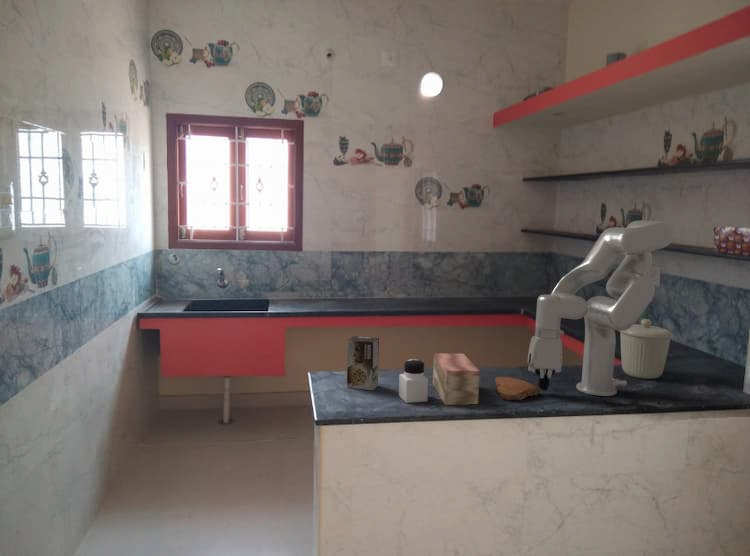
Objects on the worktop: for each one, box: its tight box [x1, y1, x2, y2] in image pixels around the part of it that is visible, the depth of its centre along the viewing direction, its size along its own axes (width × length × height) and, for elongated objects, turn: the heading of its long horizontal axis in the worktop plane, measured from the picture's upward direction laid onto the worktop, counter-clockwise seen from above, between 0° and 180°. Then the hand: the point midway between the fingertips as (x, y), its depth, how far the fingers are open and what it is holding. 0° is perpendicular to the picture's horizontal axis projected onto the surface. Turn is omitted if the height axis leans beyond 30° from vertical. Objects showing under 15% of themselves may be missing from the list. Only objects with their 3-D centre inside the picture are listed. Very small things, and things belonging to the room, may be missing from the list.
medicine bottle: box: [398, 358, 430, 404], centre depth 176 cm, size 7×7×12 cm
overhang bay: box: [432, 352, 481, 406], centre depth 182 cm, size 10×21×10 cm, turn 5°
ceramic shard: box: [494, 376, 541, 401], centre depth 184 cm, size 15×6×15 cm
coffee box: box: [346, 335, 380, 391], centre depth 187 cm, size 9×6×16 cm
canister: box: [619, 318, 674, 380], centre depth 210 cm, size 18×18×21 cm
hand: (543, 389), depth 185 cm, fingers closed
